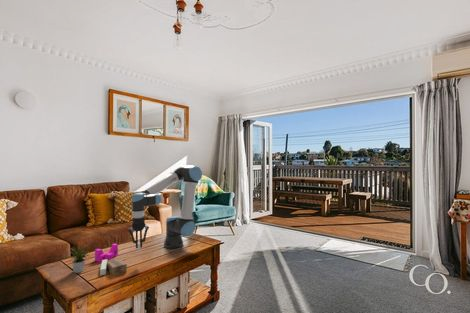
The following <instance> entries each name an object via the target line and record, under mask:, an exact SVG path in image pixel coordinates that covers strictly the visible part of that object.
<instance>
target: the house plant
mask: <svg viewBox="0 0 470 313" xmlns="http://www.w3.org/2000/svg"><path fill="white" fill-rule="evenodd" d="M88 245H89V244H86V245H84V246H82V247H80V246H81V244H79V245H78V248H77V249H78V250H76V248H75V246H72V247H71V248H70V247H69V249H68V248H67V250H69V251H70V254H72V255H73V256H72V255H68V256H67V258H68V259H74V260H72V261H71V264H72V269H73V273H74V274H78V273H81V272H83V271H84V269H85V265H86V264H85V263H86V259H87V257H90V255H89V254H90V252H89V251H86V249H90V246H89V247H87V246H88Z"/></svg>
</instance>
